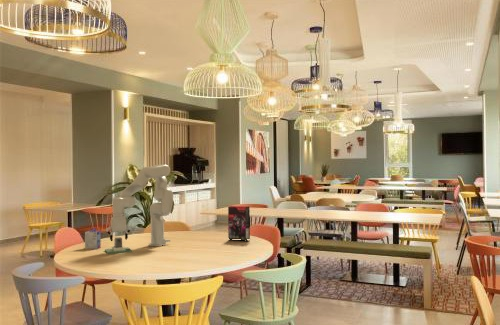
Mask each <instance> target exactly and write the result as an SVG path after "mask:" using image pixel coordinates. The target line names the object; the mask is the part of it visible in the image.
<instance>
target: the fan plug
mask: <svg viewBox="0 0 500 325" xmlns="http://www.w3.org/2000/svg"><path fill="white" fill-rule="evenodd" d="M114 246H115V248H119V247H122V246H123V238H122V237H119V236H118V237H114Z"/></svg>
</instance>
